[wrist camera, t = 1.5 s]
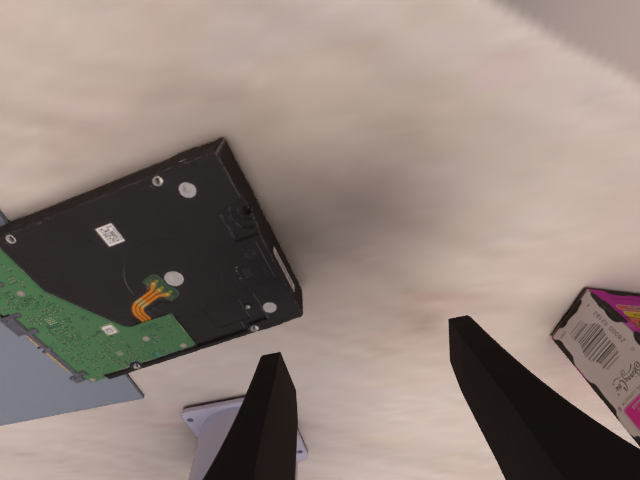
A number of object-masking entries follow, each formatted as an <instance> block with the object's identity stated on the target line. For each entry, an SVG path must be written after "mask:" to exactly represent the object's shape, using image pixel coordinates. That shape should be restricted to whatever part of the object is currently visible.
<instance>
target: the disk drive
mask: <svg viewBox="0 0 640 480" xmlns="http://www.w3.org/2000/svg"><path fill="white" fill-rule="evenodd" d="M302 315H303V303H302V289H301V287H300V286H299V284H298V281H297V280H296V279H295V276H294V274H293V273H292V270H291V268H290V265H289V263H288V261H287V260H286V257H285V256H284V254H283V252H282V250H281V248H280V246H279V244H278V242H277V240H276V238H275V236H274V234H273V232H272V230H271V228H270V226H269V224H268V223H267V221H266V218H265V216H264V214H263V213H262V211H261V209H260V206H259V204H258V202H257V200H256V198H255V197H254V194H253V192H252V190H251V189H250V187H249V185H248V183H247V181H246V179H245V177H244V175H243V173H242V172H241V171H240V168H239V167H238V165H237V163H236V161H235V159H234V156H233V154H232V152H231V150H230V148H229V146H228V144H227V142H226V140H224V139H223V138H220V139H218V140H217V141H215V142H211V143H210V144H206V145H203V146H201V147H198V148H194V149H191V150H188V151H186V152H183V153H180V154H178V155H176V156H174V157H172V158H171V159H168V160H166V161H163V162H161V163H159V164H156V165H153V166H151V167H148V168H146V169H143V170H140V171H138V172H136V173H134V174H131V175H129V176H126V177H123V178H121V179H119V180H116V181H114V182H112V183H109V184H106V185H104V186H101V187H99V188H97V189H94V190H92V191H90V192H88V193H85V194H82V195H80V196H76V197H74V198H72V199H69V200H66V201H64V202H61V203H59V204H57V205H54V206H52V207H49V208H47V209H44V210H41V211H39V212H36V213H34V214H32V215H29V216H27V217H24V218H21V219H17V220H15V221H11V222H9V223H7V224H5V225H2V226H0V317H1V318H0V322H1V323H3V325H4V326H6V327H7V328H9V329H10V330H11V331H12V332H13V333H15V334H16V335H17V336H18V337H19V336H22V335H26V338H27V339H28V340H30V341H31V342H32V343H34V344H35V345H36V346H37V349H40V348H43V349H44V350H43V351H42V353H44V354H46V355H48V356H49V357H50V358H51V359H52V360H54V361H55V362H56V363H57V364H58V365H60V366H61V367H62V368H63V369H64V370H65V371H67V372H71V373H72V374H73V376H71V377H70V378H69V379H70V380H71V381H74V382H75V383H79V382H82V381H84V380H88V381H89V382H90V383H92V382H96V381H99V380H102V379H105V378H107V379H112V378H115V377H119V376H122V375H125V374H127V373H130V372H132V371H135V370H138V369H141V368H145V367H148V366H151V365H154V364H158V363H161V362H164V361H167V360H170V359H173V358H176V357H178V356H182V355H185V354H188V353H192V352H196V351H197V350H200V349H203V348H207V347H210V346H213V345H216V344H220V343H223V342H225V341H229V340H231V339H234V338H238V337H241V336H244V335H247V334H250V333H254V332H256V331H260V330H264V329H268V328H271V327H274V326H276V325H280V324H282V323H284V322H287V321H290V320H292V319H295V318H298V317H301V316H302Z"/></svg>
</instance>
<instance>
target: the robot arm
mask: <svg viewBox="0 0 640 480" xmlns="http://www.w3.org/2000/svg"><path fill="white" fill-rule="evenodd" d="M449 346H450V362H451V365H452V368H453V370H454V373H455V376H456V378H457V381H458V383H459V386H460V389H461V391H462V393H463V395H464V397H465V399H466V401H467V403H468V405H469V407H470V409H471V411H472V413H473V415H474V417H475V419H476V421H477V423H478V425H479V427H480V429H481V431H482V433H483V435H484V437H485V439H486V441H487V443H488V445H489V447H490V449H491V450H492V452H493V454H494V456H495V458H496V460H497V462H498V464H499V466H500V469H501V471H502V473H503V475H504V477H505V479H506V480H640V449H639V448H637V447H635V446H634V445H632V444H631V443H629V442H627V441H626V440H624V439H622V438H621V437H619V436H618V435H616V434H615V433H613V432H612V431H610V430H609V429H607V428H606V427H604V426H603V425H601V424H600V423H598V422H597V421H595V420H594V419H592V418H591V417H589V416H588V415H587V414H585V413H584V412H582V411H581V410H579V409H578V408H577V407H575V406H574V405H572V404H571V403H570V402H568V401H567V400H566V399H564V398H563V397H562V396H560V395H559V394H558V393H556V392H555V391H554V390H553V389H551V388H550V387H549V386H547V385H546V384H545V383H544V382H542V381H541V380H540V379H539V378H537V377H536V376H535V375H534V374H532V373H531V372H530V371H529V370H528V369H527V368H525V367H524V366H523V365H522V364H521V363H520V362H518V361H517V360H516V359H515V358H514V357H513V356H511V355H510V354H509V353H508V352H507V351H506V350H505V349H504V348H502V347H501V346H500V345H499V344H498V343H497V342H496V341H495V340H494V339H493V338H492V337H491V336H490V335H488V334H487V333H486V332H485V331H484V330H483V329H482V328H481V327H480V326H479V325H478V324H477V323H476V322H475V321H474V320H473V319H472V318H471V317H470V316H468V315H466V316H461V317H456V318H451V319H449ZM181 417H182V419H183V420H184V421H185V423H186V424H187V425H188V427H189V428H190V430H191V431H192V432H193V434H194V435H195V436H196V438H197V439H198V442H197V447H196V451H195V455H194V459H193V463H192V467H191V472H190V476H189V480H297V461H303V460H306V459H307V458H308V452H307V449H306V447H305V445H304V443H303V440H302V438H301V436H300V434H299V431H298V429H297V428H298V418H297V401H296V389H295V387H294V384H293V382H292V379H291V377H290V375H289V372H288V370H287V367H286V365H285V362H284V360H283V357H282V355H281V352H278V353H273V354H267V355H263V356H262V357H261V358H260V361H259V363H258V366H257V369H256V371H255V374H254V376H253V379H252V381H251V384H250V386H249V389H248V391H247V393H246V396H245V397H244V398H238V399H233V400H228V401H223V402H217V403H212V404H207V405H201V406H196V407H191V408H186V409H184V410H182V414H181Z"/></svg>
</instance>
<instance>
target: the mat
mask: <svg viewBox="0 0 640 480" xmlns="http://www.w3.org/2000/svg"><path fill="white" fill-rule="evenodd" d="M7 223H9V222H8V220H7V219H6V218H5V216H4V215H3V214H2V213H1V211H0V226H2V225H5V224H7ZM0 318H1V317H0ZM43 350H44V349H43V348H40V349H37V346H36V345H35V344H34V343H32V342H31V341H30V340H28V339H27V338H26V335H22V336H19V337H18V336H17V335H16V334H15V333H13V332H12V331H11V330H10V329H9V328H7V327H6V326H4V325H3V323H1V322H0V426H2V425H7V424H12V423H17V422H22V421H28V420H33V419H38V418H43V417H48V416H54V415H59V414H64V413H69V412H74V411H80V410H85V409H90V408H95V407H100V406H106V405H111V404H116V403H121V402H126V401H132V400H137V399H142V398H144V395H143V393H142V392H141V391H140V390H139V388H138V387H137V386H136V385H135V383H134V382H133V381H132V379H131V378H130V377H129V376H128V374H125V375H122V376H119V377H115V378H112V379H107V378H105V379H102V380H99V381H96V382H92V383H90V382H89V381H88V380H84V381H82V382H79V383H75V382H74V381H71V380H70V379H69V378H70V377H71V376H73V374H72V373H71V372H67V371H65V370H64V369H63V368H62V367H61V366H60V365H58V364H57V363H56V362H55V361H54V360H52V359H51V358H50V357H49V356H48V355H46V354H44V353H42V351H43Z"/></svg>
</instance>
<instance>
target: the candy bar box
mask: <svg viewBox="0 0 640 480" xmlns="http://www.w3.org/2000/svg"><path fill="white" fill-rule="evenodd" d="M552 339H553V340H554V342H555V343H556V344H557V345H558V347H559V348H560V349H561V350H562V351H563V353H564V354H565V355H566V356H567V358H568V359H569V360H570V361H571V362H572V364H573V365H574V366H575V367H576V368H577V370H578V371H579V372H580V373H581V374H582V376H583V377H584V378H585V380H586V381H587V382H588V383H589V384H590V386H591V387H592V388H593V389H594V391H595V392H596V393H597V394H598V396H599V397H600V398H601V399H602V400H603V402H604V403H605V404H606V405H607V406H608V408H609V409H610V410H611V412H612V413H613V414H614V415H615V416H616V418H617V419H618V420H619V421H620V423H621V424H622V425H623V427H624V428H625V429H626V430H627V432H628V433H629V434H630V435H631V436H632V438H633V439H634V440H635V441H636V442H637V444H638V445H639V446H640V295H637V294H628V293H620V292H611V291H602V290H593V289H586V290H585V291H584V292H583V293H582V295H581V296H580V297H579V299H578V300H577V301H576V303H575V304H574V306H573V307H572V308H571V310H570V311H569V313H568V314H567V315H566V316H565V317H564V319H563V320H562V322H561V323H560V324H559V325H558V327H557V328H556V330H555V332H554V333H553V335H552Z"/></svg>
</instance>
